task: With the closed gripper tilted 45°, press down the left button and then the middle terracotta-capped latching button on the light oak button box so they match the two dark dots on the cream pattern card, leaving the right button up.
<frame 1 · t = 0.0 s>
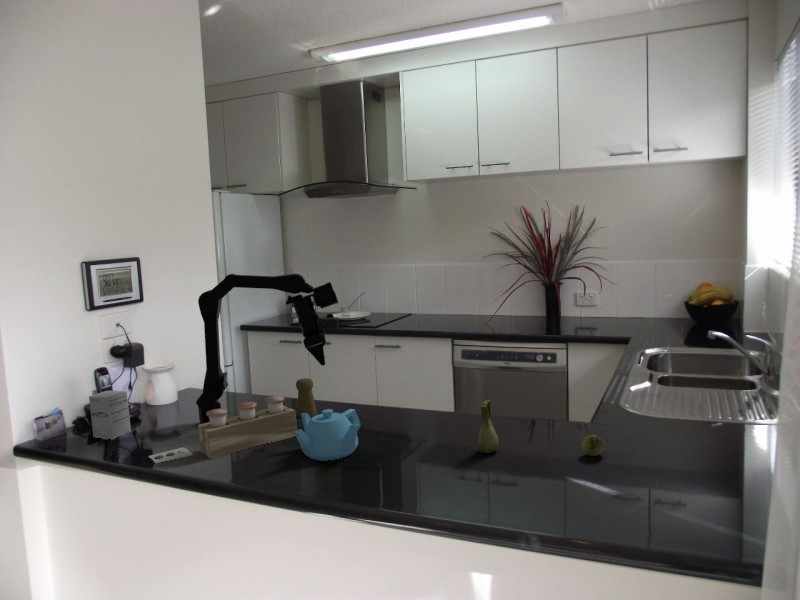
hand: (323, 362, 189), 15 cm above the countertop, tool pointing down, fingers open, 9 cm apart
button 1: (217, 420, 160), point 8 cm above the countertop, slide at 0.0 cm
pattern card: (170, 456, 159), on the countertop
teapot: (330, 453, 154), on the countertop
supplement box: (112, 436, 181), on the countertop
lime: (594, 457, 140), on the countertop
button 2: (275, 407, 169), point 8 cm above the countertop, slide at 0.0 cm
cork: (307, 415, 189), on the countertop
button box: (250, 443, 165), on the countertop
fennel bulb: (488, 452, 147), on the countertop
middle button: (247, 413, 164), point 8 cm above the countertop, slide at 0.0 cm
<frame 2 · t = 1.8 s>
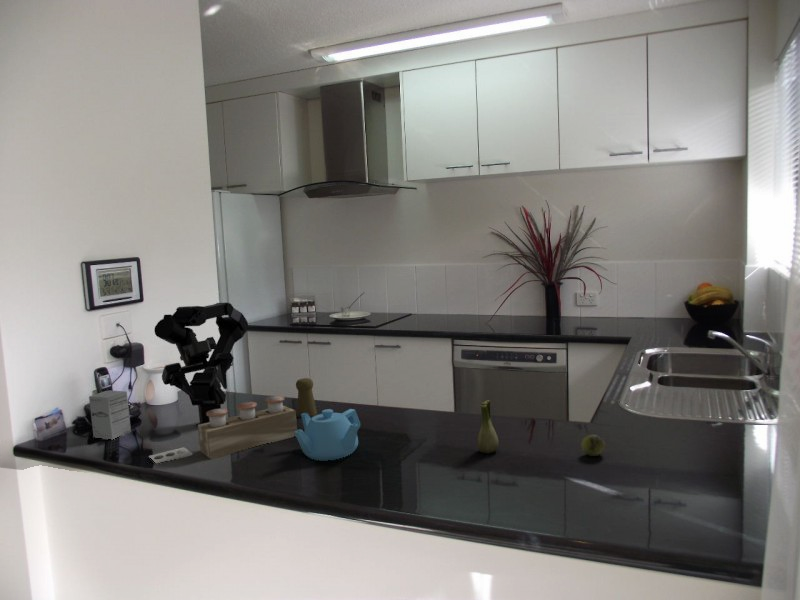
hand: (209, 392, 167), 14 cm above the countertop, tool tilted 45°, fingers open, 9 cm apart
nothing on the countertop moved.
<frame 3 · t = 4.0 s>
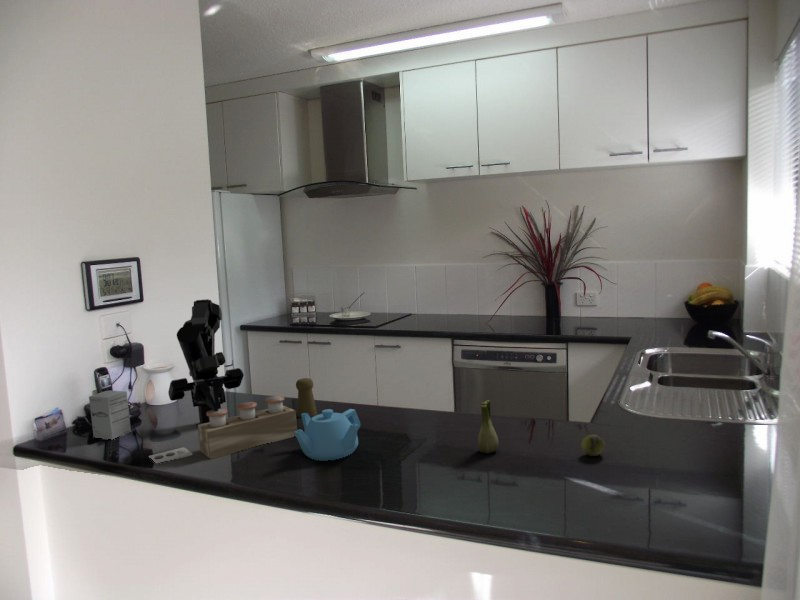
hand: (216, 410, 160), 11 cm above the countertop, tool tilted 45°, fingers closed, pressing on button 1
button 1: (217, 420, 160), point 8 cm above the countertop, slide at 0.0 cm, touching gripper
everything else where it was.
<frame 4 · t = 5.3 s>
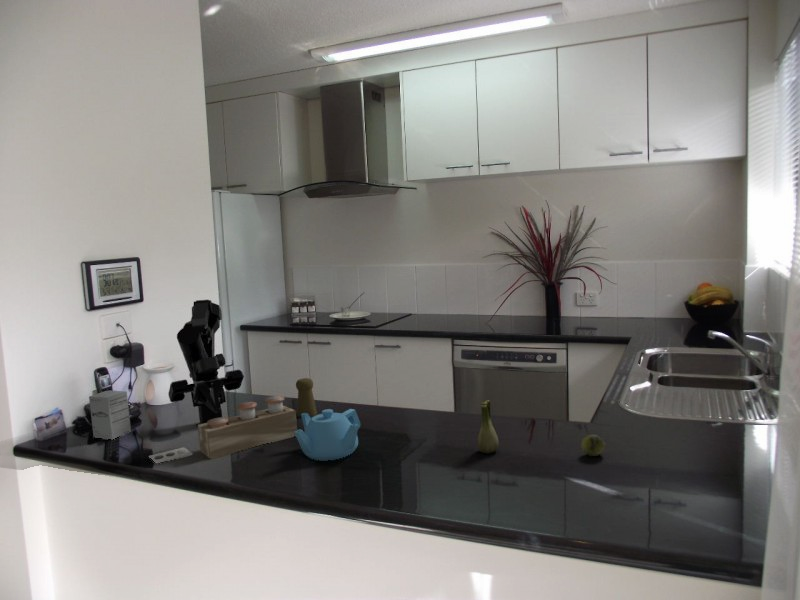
hand: (216, 411, 159), 10 cm above the countertop, tool tilted 45°, fingers closed
button 1: (218, 429, 160), point 6 cm above the countertop, slide at 2.4 cm
everything else where it was.
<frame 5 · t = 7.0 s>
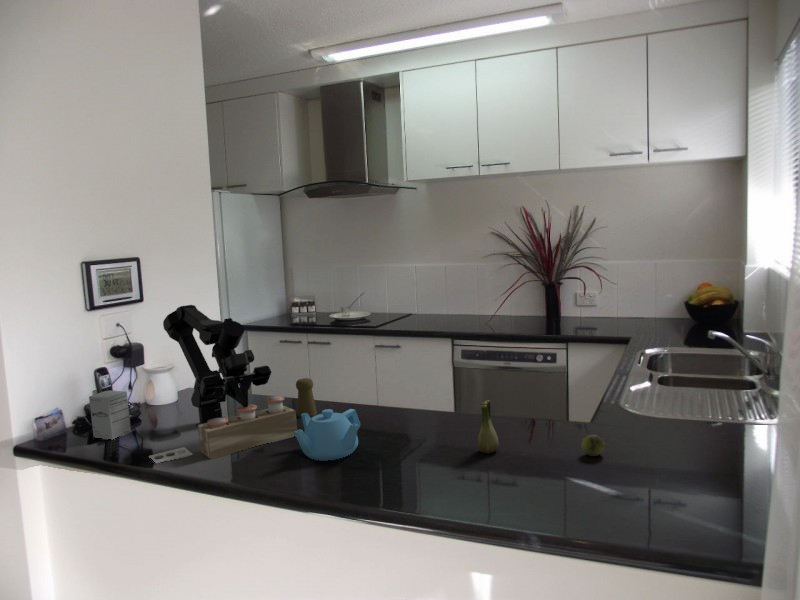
hand: (246, 406, 164), 10 cm above the countertop, tool tilted 45°, fingers closed, pressing on middle button
middle button: (247, 416, 165), point 7 cm above the countertop, slide at 0.7 cm, touching gripper
everything else where it was.
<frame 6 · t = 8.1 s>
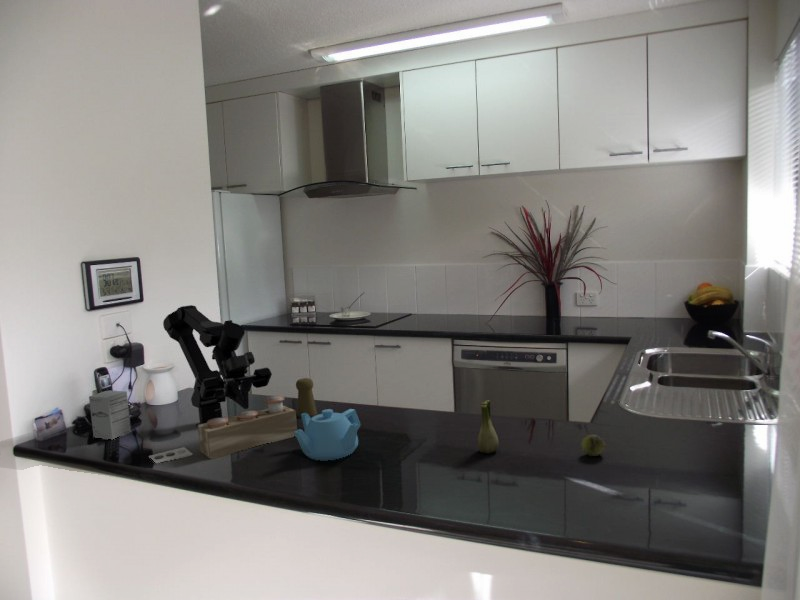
hand: (246, 408, 164), 10 cm above the countertop, tool tilted 45°, fingers closed
middle button: (248, 422, 165), point 6 cm above the countertop, slide at 2.4 cm
everything else where it was.
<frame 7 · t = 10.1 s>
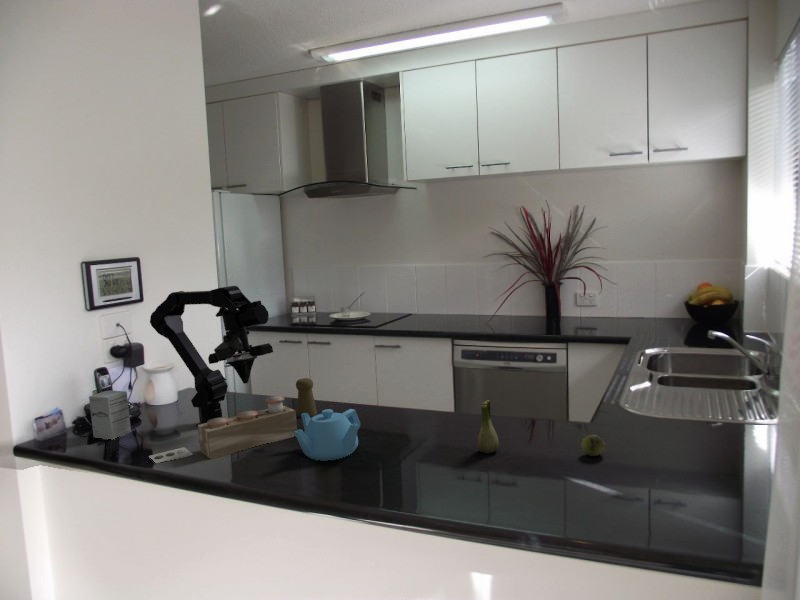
hand: (245, 383, 178), 13 cm above the countertop, tool pointing down, fingers closed
nothing on the countertop moved.
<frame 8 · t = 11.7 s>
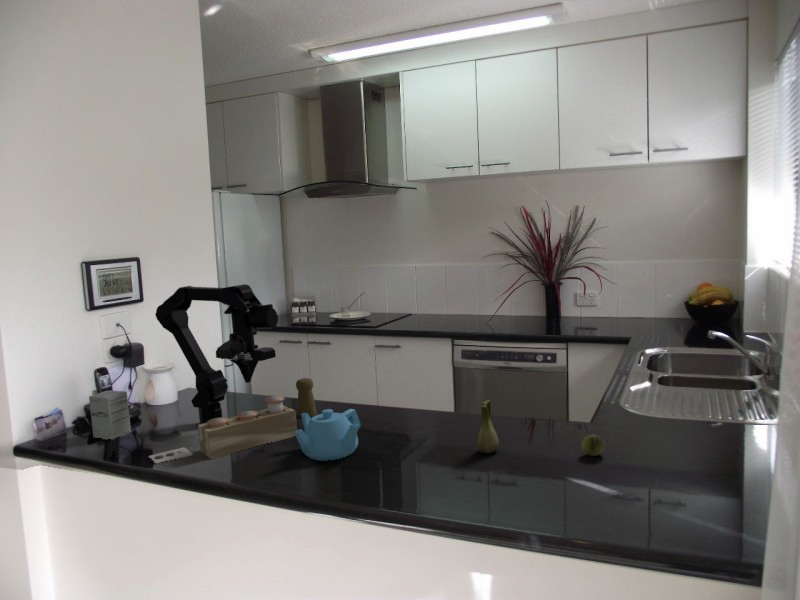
hand: (248, 382, 179), 13 cm above the countertop, tool pointing down, fingers closed
nothing on the countertop moved.
at the end: button 1 slide at 2.4 cm; middle button slide at 2.4 cm; button 2 slide at 0.0 cm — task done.
